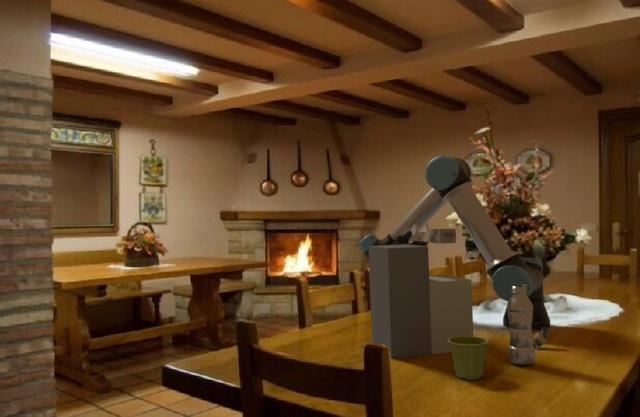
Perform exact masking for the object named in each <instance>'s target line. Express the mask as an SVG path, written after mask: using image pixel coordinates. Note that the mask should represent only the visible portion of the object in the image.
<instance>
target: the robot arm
mask: <svg viewBox="0 0 640 417" xmlns="http://www.w3.org/2000/svg"><path fill="white" fill-rule="evenodd" d="M424 177H425V180H426V183H427V185H429V186H430V187H431V188H430V189H429V190H428V191H427V192H426V193H425V195H424V196H422V197H421V199H420V200H419V201H418V202H417V203H416V204H414V206H413V207H412V209H411V210H409V211H408V213H406V215H405V216H404V217H403V218H402V219H401V220H400V221H399V222H398V223H397V224H396V225H395V226H394V228H393V229H392V230H391V231H389V233H388V234H387V236H386V237H384V238H382V239H379V237H377V235H376V234H374V233H369V234H367V235H366V236H364V237H363V238H361V239H360V241H359V242H358V248H359V249H360V250H361V253H362V254H363V255H364V256H365V257H366V259H367V260H368V261H369V246H382V245H404V244H406V245H417V246H427V247H428V244H429V243H430V242H421V241H412V240H413V238H414V237H415V236H416V234H417V233H418V232H419V231H430V228H429V225H428V222H429V221H430V220H431V219H432V218H433V217H434V216H435V215H436V214H437V213H438V211H439V210H440V209H442V208H443V206H444V205H446V203H449V204H450V206H451V207H452V209H453V211H454V212H455V213H456V215H457V217H458V218H459V220H460V222H461V223H462V224H463V226H464V228H465V230H466V232H467V233H468V235H469V236H470V238H471V239H472V241H473V243H474V244H475V246H476V247H477V249H478V251H479V252H480V253H481V255H482V257H483V259H484V261H485V262H486V263H487V266H486V268H485V270H486V272H487V274H488V275H489V277H490V279H491V287H492V288H493V291H494V292H495V294H496V295H497V296H498V298H500V299H501V300H504V301H506V302H507V304H508V301H509V300H510V298H511V297H512V295H513V293H512V292H511V291H512V285H526V287H527V293H526V296H527V297H528V298H529V300H530V301H531V303H532V305H533V315H532V328H531V329H532V331H538V330H540V331H542V327H544V328H548V329H550V328H551V319H550V316H549V313H548V310H547V307H546V306H545V299H544V272H543V271H544V266H543V262H542V260H541V259H540V258H535V257H522V256H521V254H520V253H519V252H518V251H514V250H512V249H511V248H510V246H509V244H508V243H507V242H506V240H505V239H504V237H503V235H502V234H501V233H500V231H499V229H498V228H497V226H496V225H495V222H493V220H492V218H491V216H490V215H489V213H488V212H487V211H486V209H485V207H484V206H483V204H482V203H481V201H480V199H479V198H478V196H477V195H476V193H475V192H474V190H473V186H474V182H473V180H472V179H471V178H472V170H471V167H470V165H469V164H468V162H466V160H464V159H462V158H459V157H455V156H452V155H449V154H442V155H441V154H440V155H436V156H435V157H433V158H431V160H429V162H428V163H427V165H426V168H425V171H424ZM404 231H408V232H407V233H406V234H405V235H404ZM507 304H506V305H507ZM502 325H503V326H504V327H505V326H506V328H508V327H509V328H508V329H510V324H509V317H508V310H507V306H506V308H505V311H504V313H503V317H502Z"/></svg>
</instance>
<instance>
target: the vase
mask: <svg viewBox="0 0 640 417" xmlns="http://www.w3.org/2000/svg"><path fill="white" fill-rule="evenodd" d="M550 332H551V331H550V328H544V327H542V329H541V330H540V331H539V332H536V333H535V334H534V336H533V346H534V349H535V350H536V351H541V350H542V349H543V347H541V346H544V345H545V344H546V343H547V342H548V335H549V333H550ZM541 348H542V349H541ZM542 351H543V350H542Z"/></svg>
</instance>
